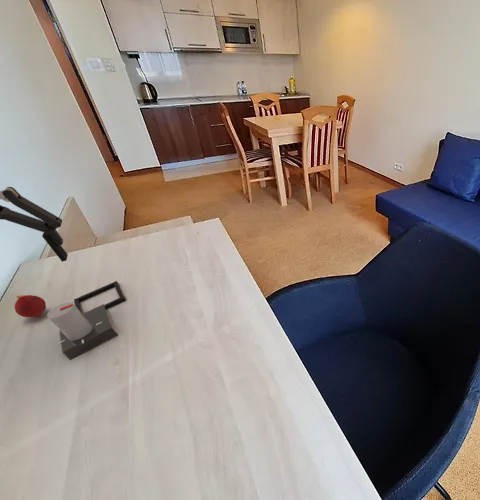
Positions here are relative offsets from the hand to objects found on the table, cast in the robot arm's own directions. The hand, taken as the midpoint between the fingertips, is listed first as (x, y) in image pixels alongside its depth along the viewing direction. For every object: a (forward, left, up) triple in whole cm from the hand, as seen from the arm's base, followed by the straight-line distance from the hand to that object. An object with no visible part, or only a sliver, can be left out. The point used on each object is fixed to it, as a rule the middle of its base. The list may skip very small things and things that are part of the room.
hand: (25, 270), depth 63 cm
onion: (-22, -9, -23) cm, 33 cm away
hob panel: (-2, +1, -23) cm, 23 cm away
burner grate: (-15, +5, -23) cm, 28 cm away
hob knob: (0, 0, -20) cm, 20 cm away
